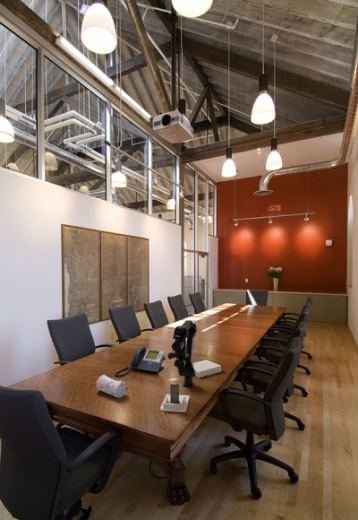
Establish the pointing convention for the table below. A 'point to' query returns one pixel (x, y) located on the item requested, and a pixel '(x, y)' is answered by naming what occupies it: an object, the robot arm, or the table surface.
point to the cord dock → (175, 407)
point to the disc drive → (206, 368)
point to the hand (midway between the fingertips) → (181, 373)
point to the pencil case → (111, 386)
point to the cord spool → (174, 391)
